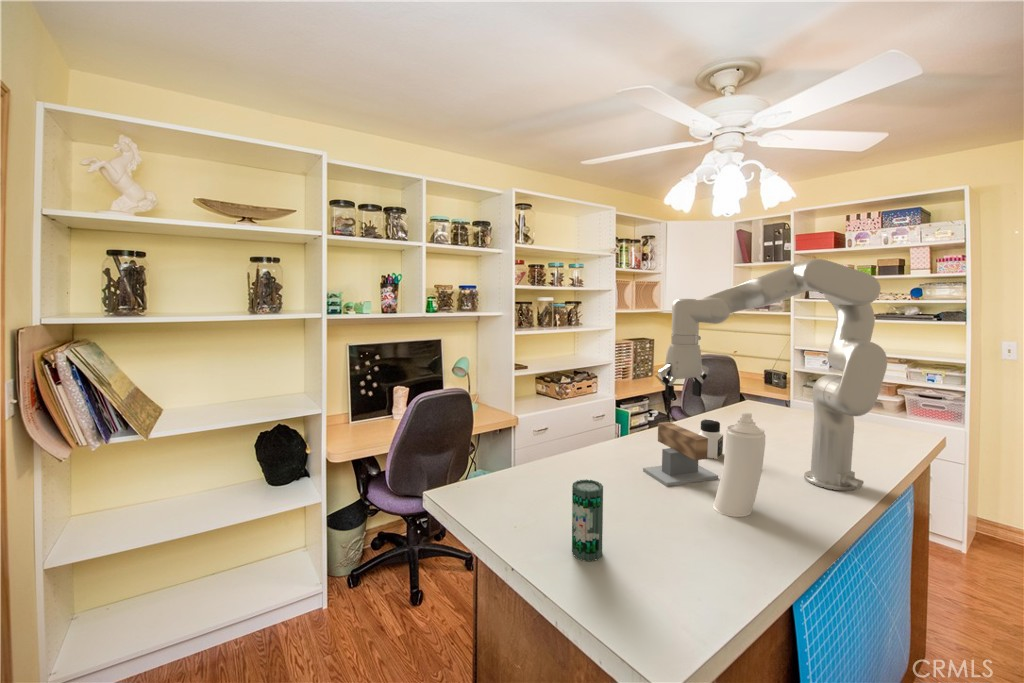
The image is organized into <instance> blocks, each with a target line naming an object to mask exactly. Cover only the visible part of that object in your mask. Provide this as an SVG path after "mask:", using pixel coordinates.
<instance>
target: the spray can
mask: <svg viewBox="0 0 1024 683" xmlns="http://www.w3.org/2000/svg"><path fill="white" fill-rule="evenodd" d="M752 417H753V414H752V413H751V412H747V413H746V412H745V413H742V414H741V417H740V418H739V420H737V423H735V424H731V425H729V426H727V430H726V434H725V447H724V448H725V449H724V457H723V459H724V460H723V468H722V470H721V476H720V479H719V483H718V487H717V491H716V496H715V498H714V502H713V504H712V508H713V510H715V511H716V512H717V513H719V514H722V515H723V516H728V517H735V518H744V517H748V516H749V515H751V513H752V510H753V508H754V505H755V502H756V499H757V498H756V497H757V494H758V491H759V490H758V489H759V486H760V481H761V477H762V473H763V464H764V457H765V449H766V434H765V430H764V429H763V428H761V427H759V426H758V425H757V424H756V422H754V420H753V418H752Z"/></svg>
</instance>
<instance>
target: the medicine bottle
mask: <svg viewBox="0 0 1024 683" xmlns="http://www.w3.org/2000/svg"><path fill="white" fill-rule="evenodd" d="M720 431H721V423H720V422H719V421H717V420H715V419H710V418H709V419H708V418H707V419H705V418H704V419H702V420H701V421H700V432H699V433H698V434H699V435H701V436H703V437H706V438H708V452H707V459H708V458H709V459H713V458H714V460H718V459H719V458H720V457H721V456H722V454H723V453H724V452H723V450H724V449H723V448H724V433H721V432H720Z"/></svg>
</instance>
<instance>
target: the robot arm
mask: <svg viewBox="0 0 1024 683" xmlns="http://www.w3.org/2000/svg"><path fill="white" fill-rule="evenodd" d="M811 291H815V292H818V293H822V294H823V296H824V298H825V299H826V300H827V301H828V302H829V303H830V304H831V306H832V307H833V308H834V311H835V313H836V325H835V327H834V328H835V329H834V332H833V335H832V338H831V343H830V344H829V345H830V346H829V348H828V352H827V362H828V364H829V365H830V367H832V368H833V369H836V370H838V371H841V372H842V375H839V374H827V375H826V374H825V375H822V376H820V377H819V378H818V379H817V380H816V381H815V383H814V384H813V387H812V393H811V394H812V396H811V397H812V403H813V428H812V430H813V431H812V443H811V444H812V446H811V460H810V463H811V464H810V470H807V471H805V472H804V480H805V481H807V482H808V483H810V484H812V485H814V484H815V486H817V487H820V488H823V487H824V489H828V490H832V489H833V490H834V491H842V492H843V491H844V492H845V491H846V492H847V490H848V491H853V490H856V489H857V490H861V489H862V487H863V485H864V480H862V479H860V478H856V472H855V471H853V470H852V463H853V462H852V460H853V450H854V448H853V447H854V434H855V418H854V417H862V416H864V415H866V414H868V413H869V412H870V411H871V410H872V409H873V408H874V406H875V404H876V403H877V400H878V397H879V393H880V391H881V387H882V385H883V381H884V378H885V375H886V371H887V367H888V357H887V354H886V352H885V350H884V348H882V346H880V345H879V344H877V343H875V342H873V341H871V340H872V336H873V332H874V328H875V323H876V322H875V320H876V319H875V318H876V317H875V316H876V315H875V311H874V308H873V307H872V304H871V303H873V302H875V301H876V300H877V299H878V297H879V296H880V293H881V291H882V290H881V285H880V282H879V280H878V279H877V278H876V277H875V276H873V275H872V274H870V273H867V272H864V271H861V270H859V269H855V268H852V267H848V266H846V265H843V264H840V263H837V262H834V261H831V260H827V259H822V258H813V259H807V260H801V261H798V262H795V263H793V264H790V265H787V266H785V267H782V268H779V269H777V270H774V271H772V272H769V273H766V274H764V275H760V276H757V277H756V278H753V279H749V280H748V281H745V282H742V283H741V284H739V285H734V286H732V287H729V288H726V289H724V290H721V291H719V292H715V293H713V294H711V295H709V296H705V297H703V298H701V299H696V298H676V299H675V300H673V301H672V305H671V306H672V307H671V337H670V338H671V341H670V342H671V344H669V345H668V348H667V351H666V357H665V366H663V367H662V368H660V369H658V371H657V373H658V376H659V378H660V380H661V381H662V383H663V384H664V396H665V398H666V399H669V400H673V399H674V398H675V386H674V383H675V381H676V380H686V379H693V382H692V389H691V390H692V392H691V393H692V395H693V396H695V397H699V398H700V397H702V388H703V387H702V384H704V383H705V382H704V381H705V380H706V378H707V375H708V373H709V371H710V368H709V367H707V366H706V365H705V364H703V360H702V350H701V346H700V344H699V341H700V340H701V338H702V337H701V336H700V335H699V334H700V333H699V332H700V331H699V330H700V323H702V324H703V323H704V324H711V325H716V324H721V323H723V322H725V321H727V320H728V318H729V317H730V315H731V314H733V313H736V312H741V311H744V310H749V309H751V310H752V309H757V308H758V309H759V308H763V307H767V306H770V305H773V304H776V303H778V302H780V301H783V300H786V299H789V298H791V297H792V298H793V297H794V296H797V295H800V294H802V293H805V292H811Z"/></svg>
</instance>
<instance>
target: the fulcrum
mask: <svg viewBox="0 0 1024 683" xmlns="http://www.w3.org/2000/svg"><path fill="white" fill-rule="evenodd" d="M661 451H662V452H661V456H662V457H661V465H657V466H655V465H654V466H648V467H643V468H642V472H644V473H645V474H646V475H649V476H650V477H651V478H653V479H654V480H656V481H658V482H659V483H661V484H662V485H664V486H665V487H671V486H678V485H685V484H691V483H697V482H698V483H700V482H704V481H712V479H713V480H718V479H719V475H718V474H716V473H714V472H713V471H711V470H709V469H707V468H704V467H703V466H701V465H699V460H694V459H692V458H690V457H688V456H686V455H684V454H682V453H680V452H678V451H676V450H674V449H672V448H670V447H668V448H662V450H661Z"/></svg>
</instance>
